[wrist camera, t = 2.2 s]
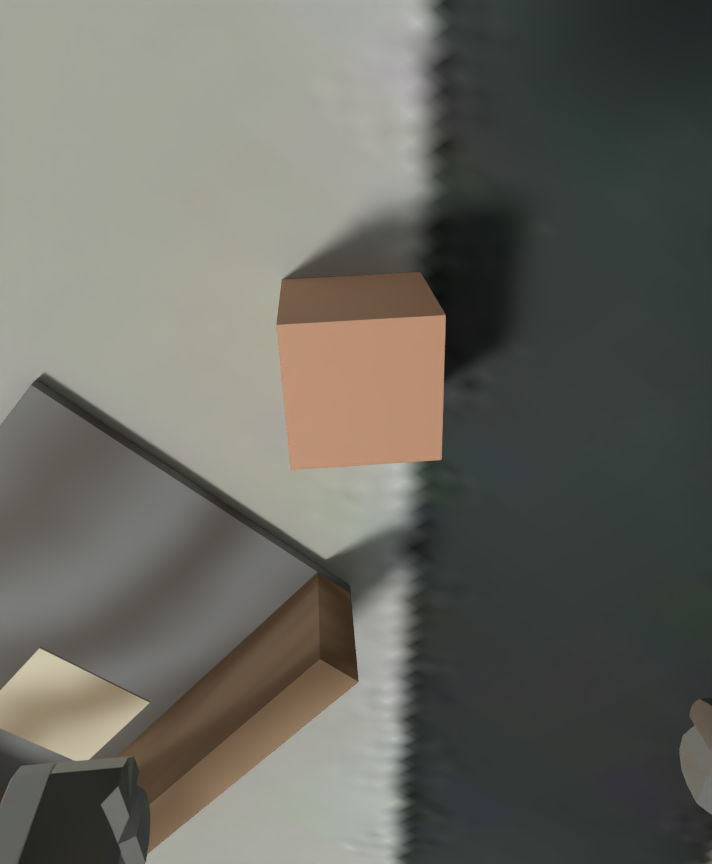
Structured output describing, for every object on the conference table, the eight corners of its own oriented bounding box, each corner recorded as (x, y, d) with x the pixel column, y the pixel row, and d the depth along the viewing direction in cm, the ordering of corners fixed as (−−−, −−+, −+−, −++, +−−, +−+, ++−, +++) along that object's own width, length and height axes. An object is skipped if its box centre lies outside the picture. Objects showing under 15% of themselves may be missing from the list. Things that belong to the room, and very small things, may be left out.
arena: (349, 586, 30) (358, 681, 25) (71, 833, 38) (36, 943, 33) (35, 379, 24) (-30, 452, 20) (-222, 720, 32) (-316, 834, 27)
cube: (420, 271, 24) (445, 315, 19) (418, 395, 26) (441, 459, 22) (282, 278, 23) (276, 324, 19) (293, 403, 26) (291, 469, 21)
